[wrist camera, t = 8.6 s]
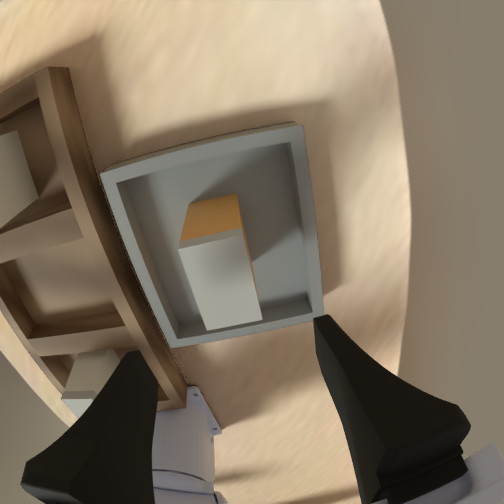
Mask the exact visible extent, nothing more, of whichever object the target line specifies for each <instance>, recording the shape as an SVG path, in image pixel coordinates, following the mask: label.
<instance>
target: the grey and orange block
mask: <svg viewBox="0 0 504 504" xmlns="http://www.w3.org/2000/svg"><path fill="white" fill-rule="evenodd" d="M178 252H179V255H180V258H181V260H182V263H183V266H184V269H185V272H186V275H187V278H188V281H189V283H190V286H191V289H192V292H193V294H194V297H195V300H196V303H197V305H198V308H199V311H200V313H201V316H202V319H203V321H204V324H205V327H206V329H207V331H208V330H213V329H218V328H224V327H229V326H234V325H239V324H244V323H249V322H254V321H258V320H263V319H262V314H261V309H260V303H259V298H258V292H257V287H256V281H255V276H254V271H253V265H252V260H251V256H250V251H249V247H248V243H247V238H246V234H245V229H244V225H243V220H242V216H241V212H240V207H239V203H238V198H237V194H236V193H234V194H230V195H225V196H221V197H216V198H212V199H208V200H203V201H199V202H195V203H191V204H189V205H188V209H187V213H186V217H185V221H184V225H183V229H182V233H181V238H180V242H179V246H178Z"/></svg>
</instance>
